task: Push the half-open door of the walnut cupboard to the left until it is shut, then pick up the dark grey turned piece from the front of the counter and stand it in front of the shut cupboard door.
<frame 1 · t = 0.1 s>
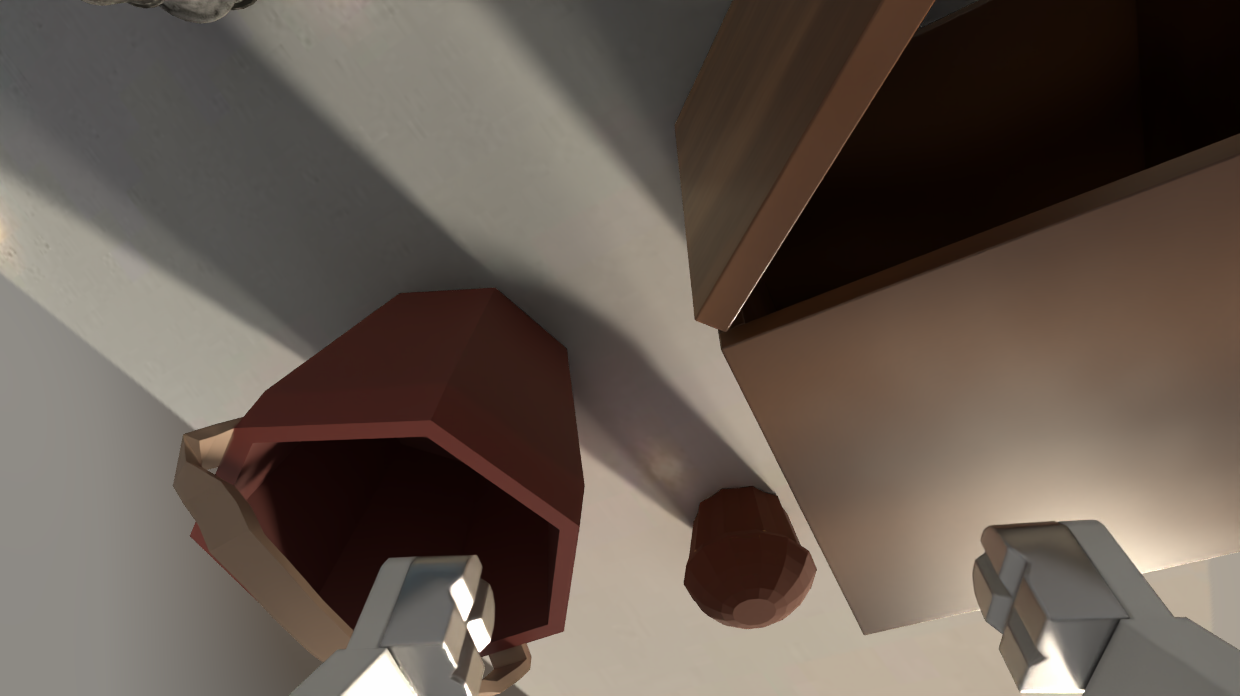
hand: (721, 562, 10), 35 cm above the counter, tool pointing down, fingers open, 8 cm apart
cupboard: (924, 177, 41), on the counter
muffin: (740, 516, 61), on the counter
bucket: (475, 367, 52), on the counter
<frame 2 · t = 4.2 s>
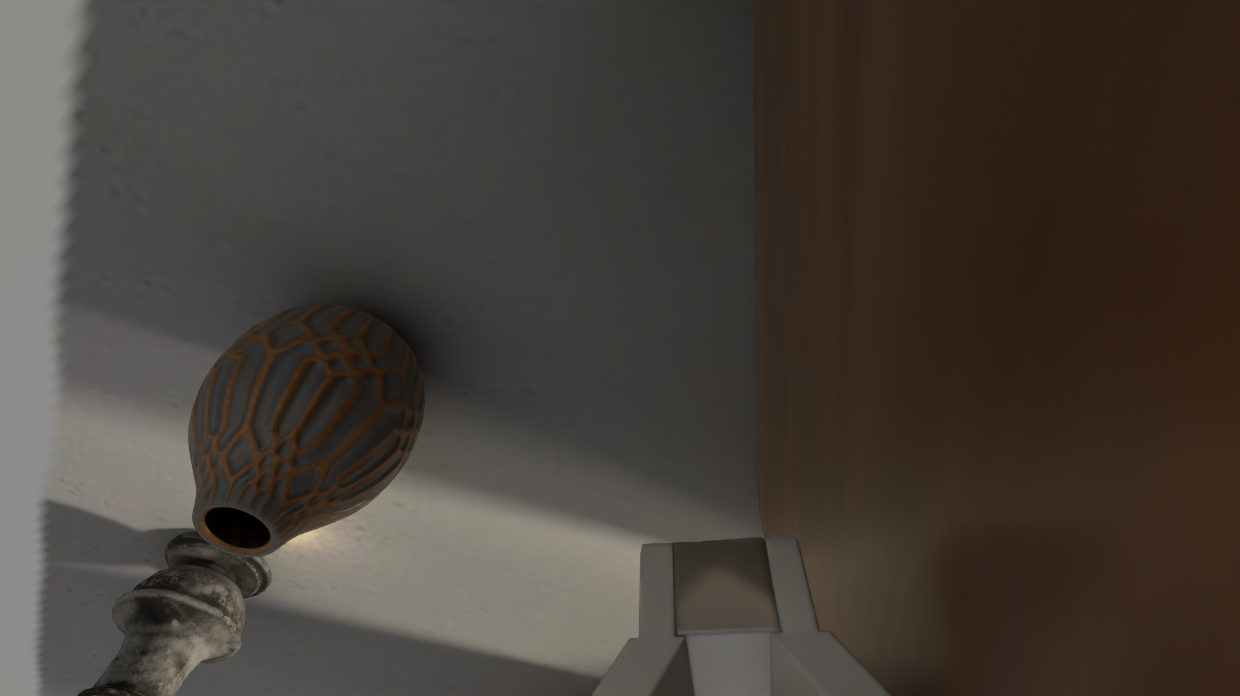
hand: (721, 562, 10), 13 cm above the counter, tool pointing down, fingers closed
cupboard door: (734, 523, 12), point 12 cm above the counter, hinge at 39.3°, touching gripper
dark grey turned piece: (221, 562, 33), on the counter
vase: (359, 350, 25), on the counter
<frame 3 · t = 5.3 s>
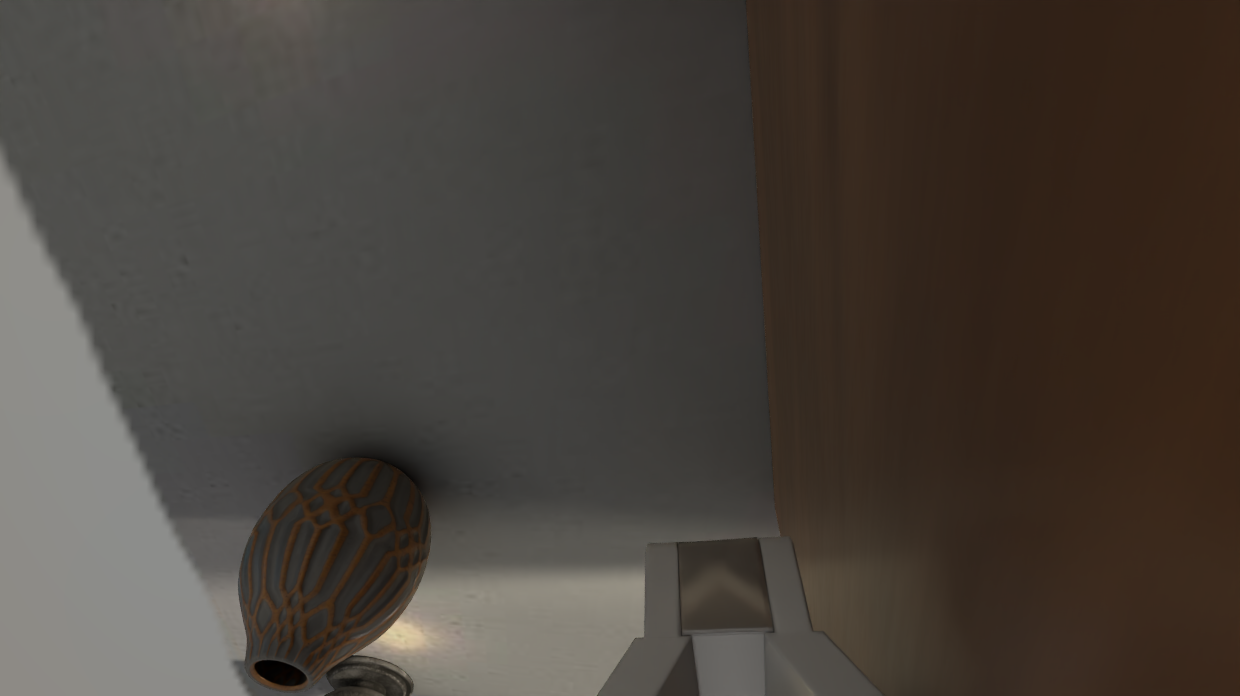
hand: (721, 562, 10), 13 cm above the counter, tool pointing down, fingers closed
cupboard door: (736, 527, 12), point 12 cm above the counter, hinge at 17.4°, touching gripper
dark grey turned piece: (371, 676, 39), on the counter
vase: (375, 485, 29), on the counter
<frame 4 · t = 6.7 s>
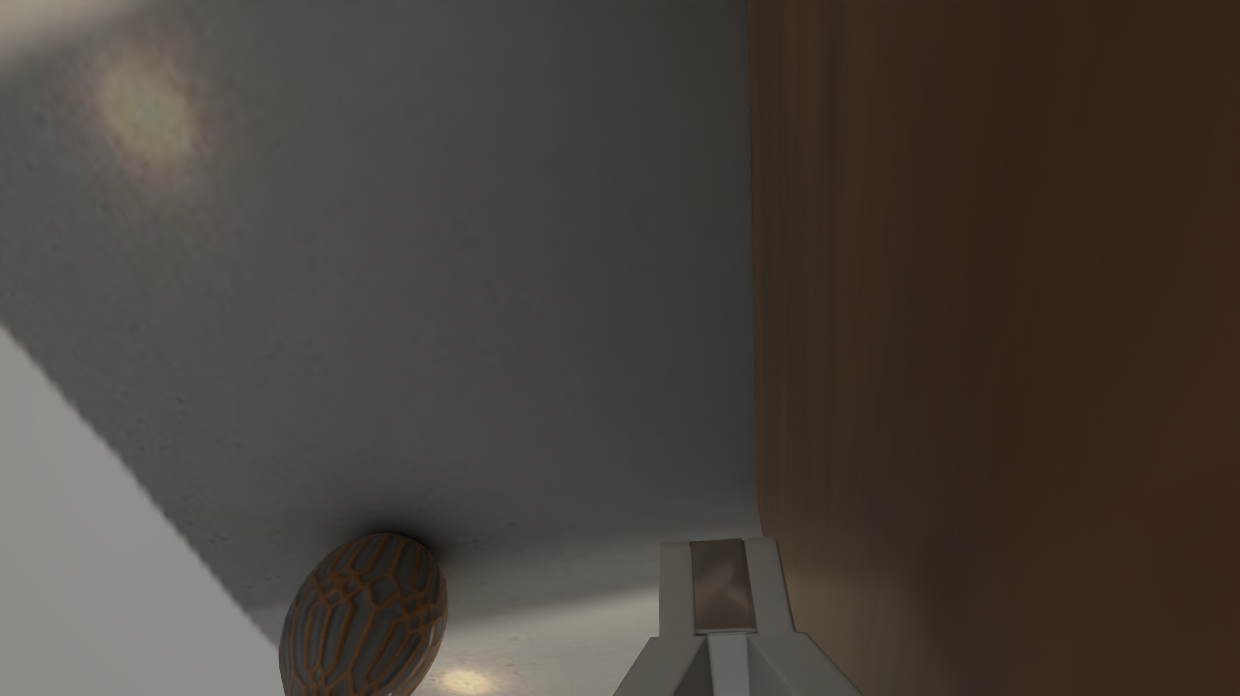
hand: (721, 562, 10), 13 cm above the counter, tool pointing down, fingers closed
cupboard door: (721, 525, 12), point 12 cm above the counter, hinge at -0.2°, touching gripper
vase: (397, 554, 32), on the counter
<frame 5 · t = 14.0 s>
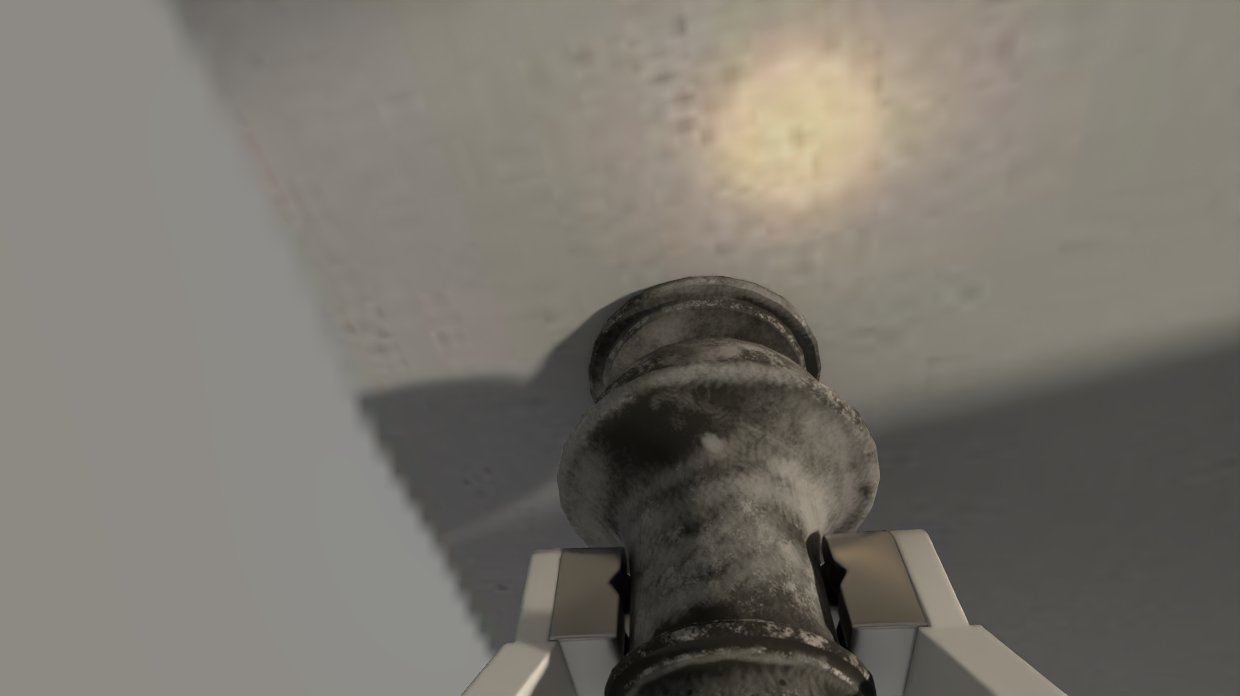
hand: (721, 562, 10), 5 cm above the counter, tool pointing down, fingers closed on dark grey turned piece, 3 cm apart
dark grey turned piece: (702, 372, 15), on the counter, touching gripper
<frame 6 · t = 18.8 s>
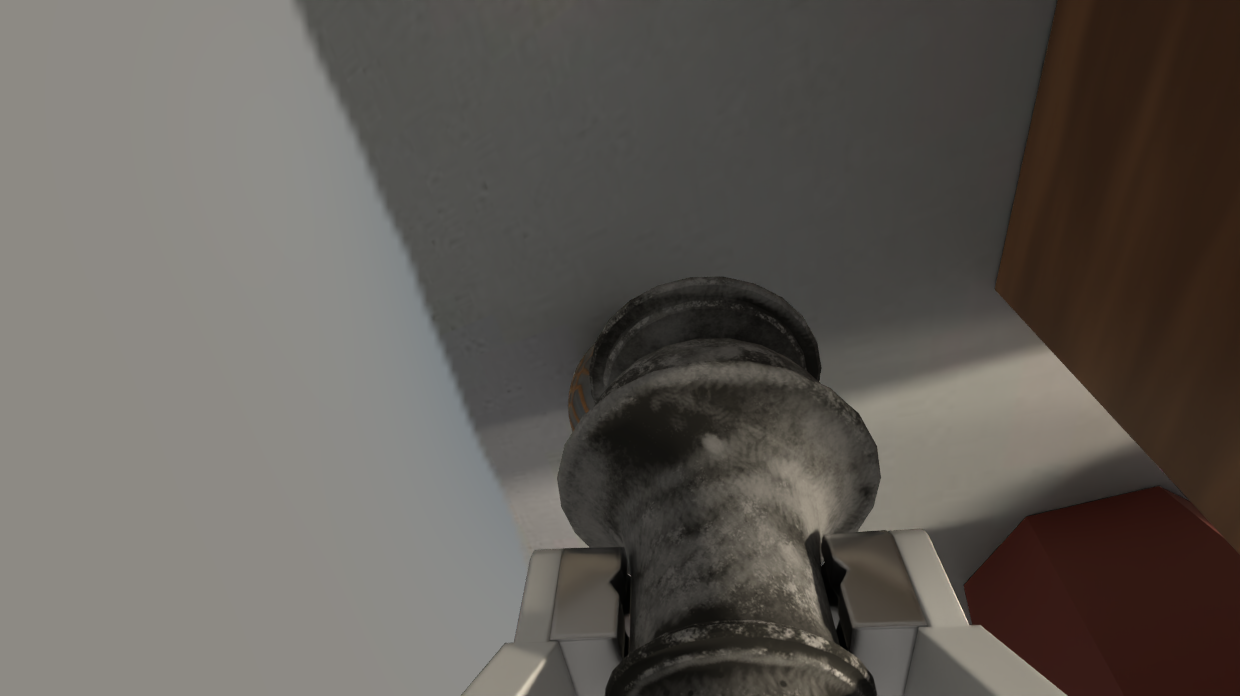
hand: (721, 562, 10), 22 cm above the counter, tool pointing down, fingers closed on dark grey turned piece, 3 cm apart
cupboard door: (1238, 55, 15), point 12 cm above the counter, hinge at -0.2°
dark grey turned piece: (702, 372, 15), point 17 cm above the counter, touching gripper
vase: (638, 359, 35), on the counter
bucket: (1094, 566, 43), on the counter
when the fingers open (5 cm above the counter, at t = 23.6 s): dark grey turned piece stays where it is, on the counter.
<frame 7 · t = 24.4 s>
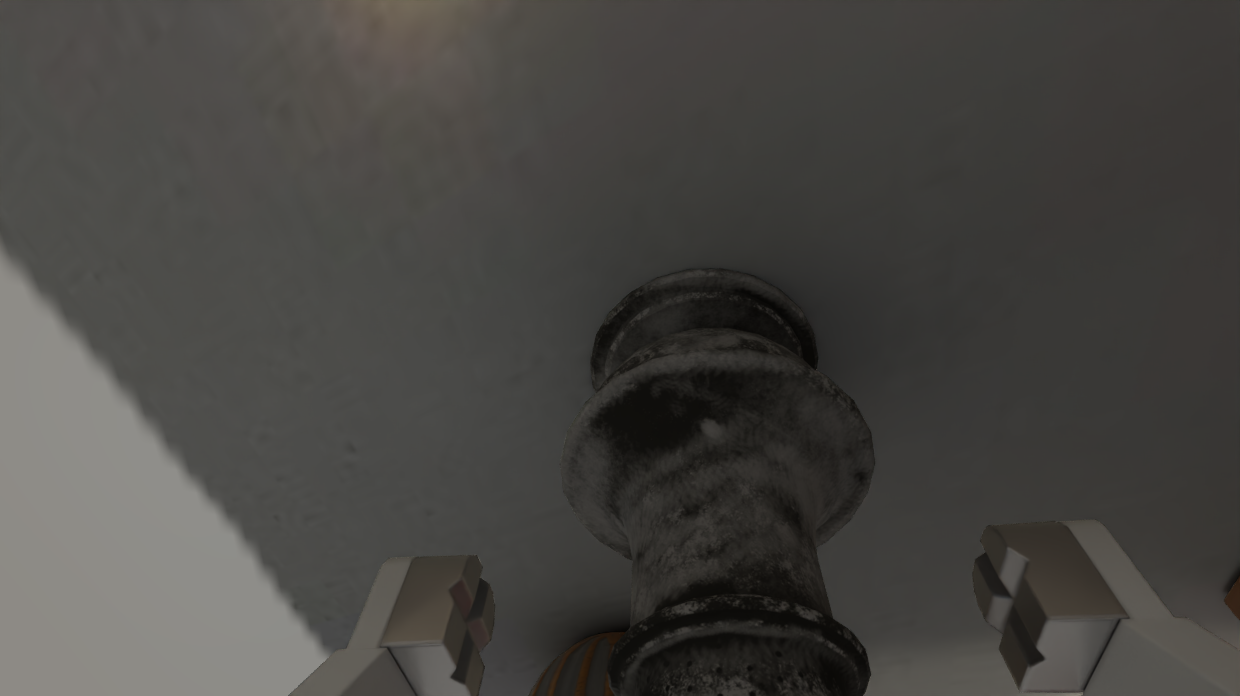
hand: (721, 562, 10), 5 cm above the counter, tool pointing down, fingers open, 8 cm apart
dark grey turned piece: (701, 363, 15), on the counter
vase: (624, 657, 22), on the counter
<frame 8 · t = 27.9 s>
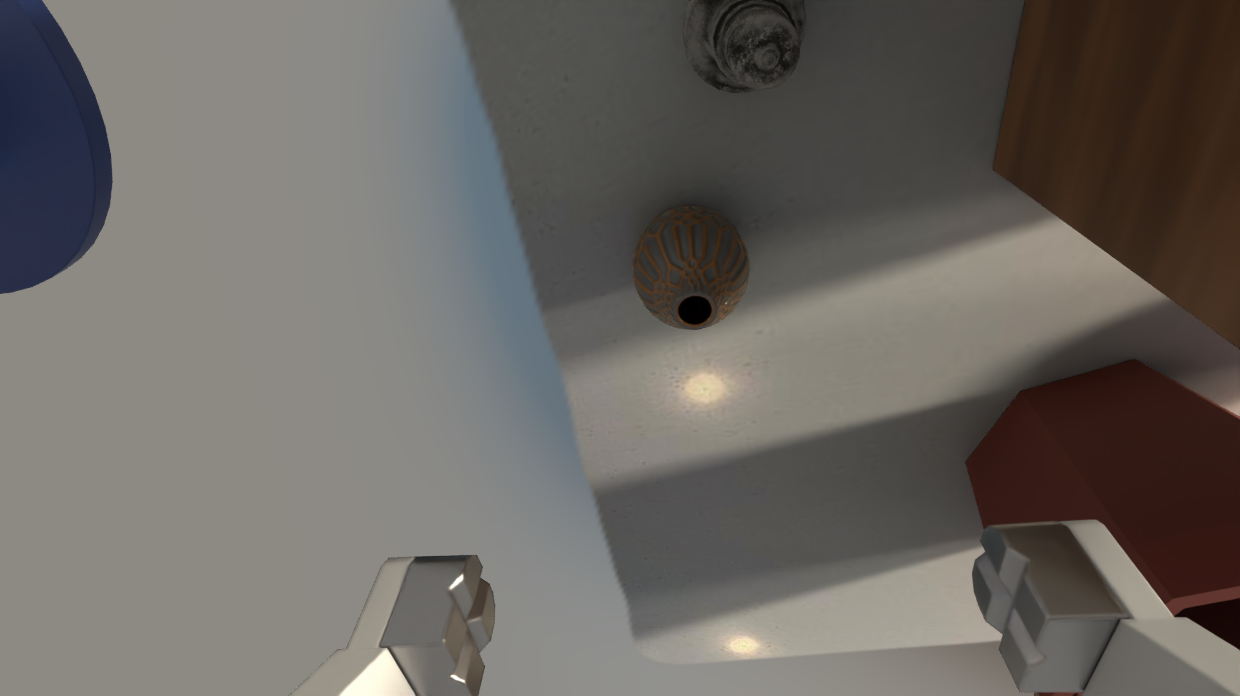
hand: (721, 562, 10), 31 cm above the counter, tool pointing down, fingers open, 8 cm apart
dark grey turned piece: (735, 19, 34), on the counter
vase: (687, 241, 41), on the counter
bucket: (1080, 441, 49), on the counter
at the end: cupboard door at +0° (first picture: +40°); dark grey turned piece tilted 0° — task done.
